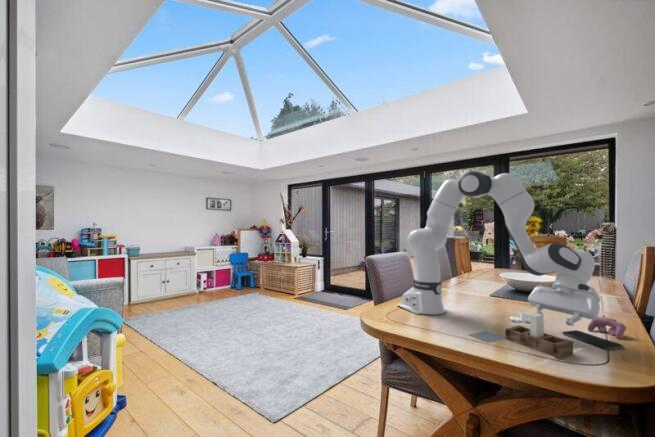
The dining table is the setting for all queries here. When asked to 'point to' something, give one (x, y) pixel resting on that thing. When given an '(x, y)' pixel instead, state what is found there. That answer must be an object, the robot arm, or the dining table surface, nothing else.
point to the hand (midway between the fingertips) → (553, 320)
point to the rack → (540, 342)
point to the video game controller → (601, 322)
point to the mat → (487, 336)
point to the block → (536, 325)
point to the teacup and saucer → (521, 318)
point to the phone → (593, 340)
